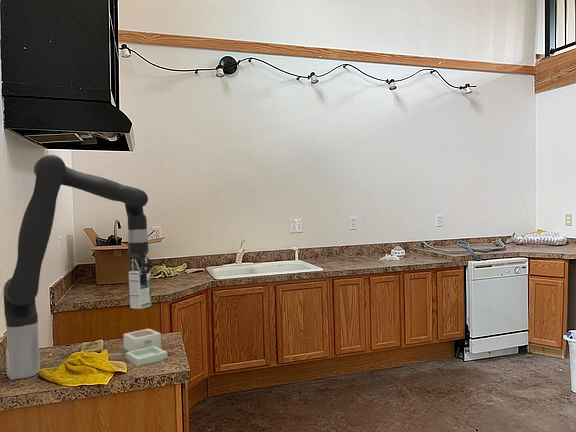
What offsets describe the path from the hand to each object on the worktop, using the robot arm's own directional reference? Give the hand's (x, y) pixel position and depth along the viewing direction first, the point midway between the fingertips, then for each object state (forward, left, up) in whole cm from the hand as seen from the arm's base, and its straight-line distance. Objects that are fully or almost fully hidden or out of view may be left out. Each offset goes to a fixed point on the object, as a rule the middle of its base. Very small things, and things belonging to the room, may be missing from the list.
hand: (139, 283), depth 174 cm
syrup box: (0, 0, -10) cm, 10 cm away
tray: (-4, -13, -26) cm, 29 cm away
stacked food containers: (0, 0, -26) cm, 26 cm away
